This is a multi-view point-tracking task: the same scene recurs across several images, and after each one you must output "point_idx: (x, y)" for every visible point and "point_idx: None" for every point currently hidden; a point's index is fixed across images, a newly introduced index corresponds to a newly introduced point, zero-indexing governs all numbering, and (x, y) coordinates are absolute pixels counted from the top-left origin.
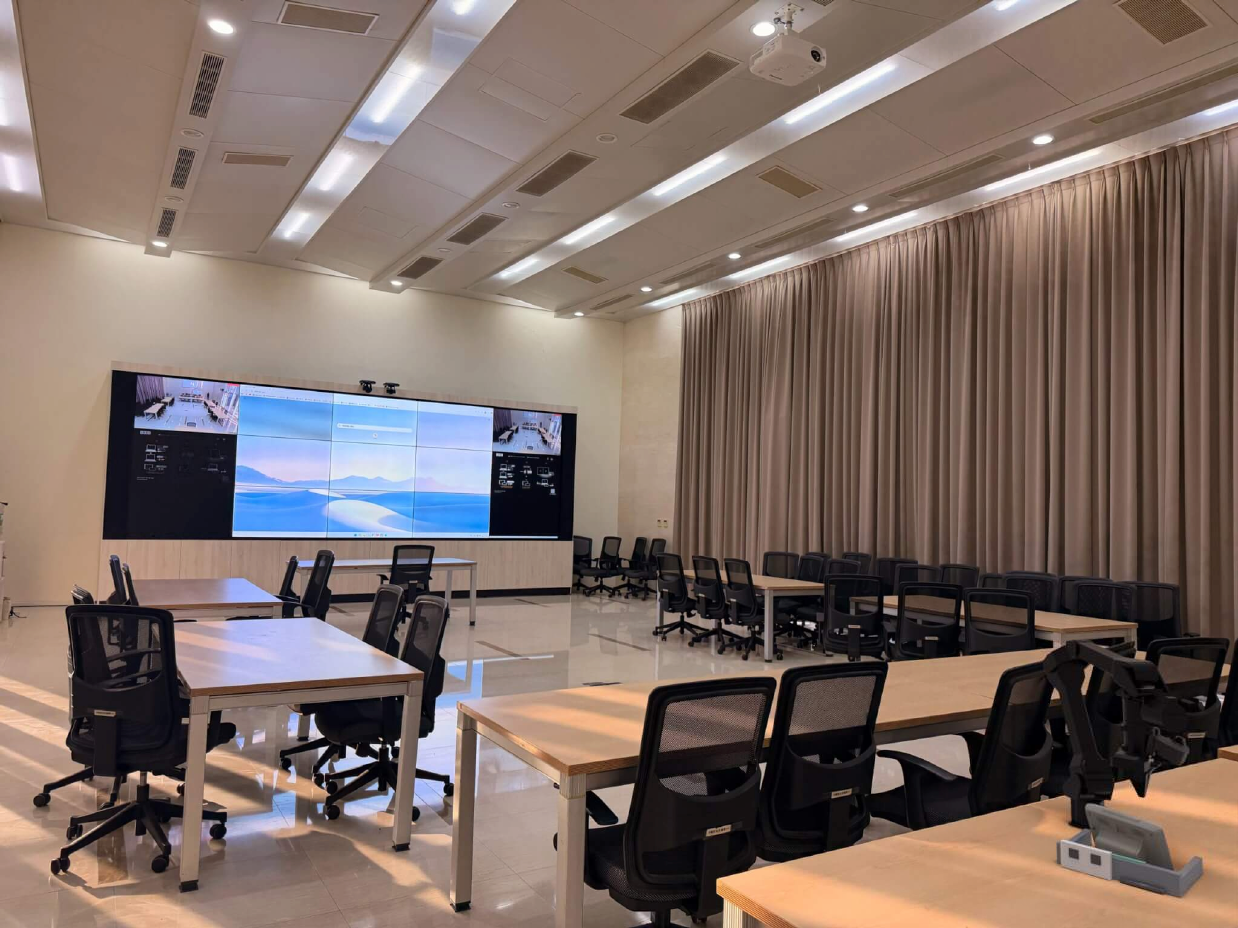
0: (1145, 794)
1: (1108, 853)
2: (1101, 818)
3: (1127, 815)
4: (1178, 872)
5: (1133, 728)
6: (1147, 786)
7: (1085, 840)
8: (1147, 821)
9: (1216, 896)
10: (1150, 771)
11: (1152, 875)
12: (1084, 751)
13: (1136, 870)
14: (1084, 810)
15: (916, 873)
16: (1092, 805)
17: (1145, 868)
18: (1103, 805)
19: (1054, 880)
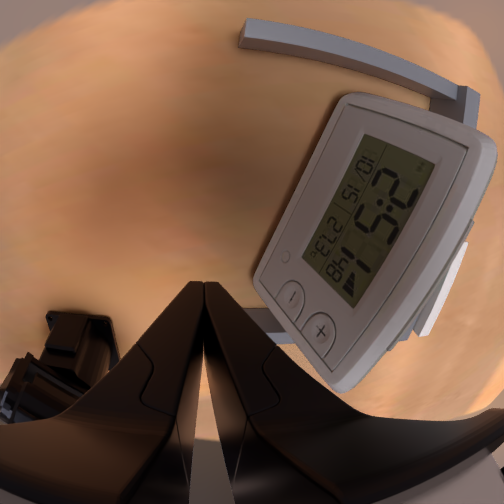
0: (198, 287)
1: (467, 244)
2: (318, 334)
3: (439, 268)
4: (467, 92)
5: None
6: (177, 317)
7: (263, 321)
8: (472, 193)
9: (395, 17)
10: (434, 421)
11: None
12: None
13: None
14: (102, 374)
15: (466, 375)
16: (361, 378)
17: None
18: (50, 354)
19: (458, 286)
